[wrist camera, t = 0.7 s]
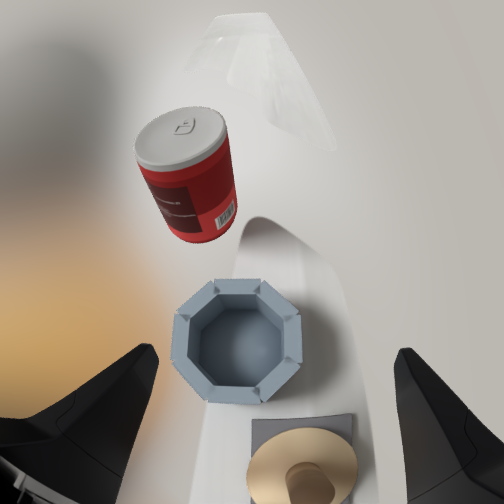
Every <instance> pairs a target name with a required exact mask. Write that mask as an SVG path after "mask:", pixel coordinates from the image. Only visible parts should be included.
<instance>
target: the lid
mask: <svg viewBox="0 0 504 504" xmlns="http://www.w3.org/2000/svg"><path fill="white" fill-rule="evenodd" d="M357 475H358V462H357V457H356V455H355V452H354V451H353V449H352V447H351V446H350V445H349V443H347V442H346V441H345V440H344V439H343V438H341V437H340V436H338V435H337V434H335V433H333V432H331V431H328V430H325V429H321V428H316V427H299V428H293V429H289V430H286V431H283V432H281V433H278V434H276V435H274V436H273V437H271V438H269V439H268V440H267V441H266V442H264V443H263V444H262V445H261V446H260V447H259V448H258V449H257V451H256V452H255V453H254V455H253V457H252V458H251V461H250V463H249V467H248V471H247V477H246V480H247V487H248V491H249V493H250V496H251V497H252V499H253V500H254V502H255V503H256V504H340V503H341V502H342V501H343V500H344V499H345V498H346V497H347V496H348V495H349V493H350V492H351V490H352V488H353V487H354V484H355V482H356V479H357Z"/></svg>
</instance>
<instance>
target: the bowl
mask: <svg viewBox="0 0 504 504" xmlns="http://www.w3.org/2000/svg"><path fill="white" fill-rule="evenodd" d="M177 311H178V313H179V314H174V324H173V334H172V345H171V357H170V360H172V361H174V362H173V363H172V365H173V366H174V367H175V368H176V369H177V371H178V372H179V373H180V374H181V375H182V376H183V378H184V379H185V380H186V381H187V382H188V383H189V385H190V386H191V387H192V388H193V389H194V390H195V391H196V392H197V394H199V396H200V397H201V398H202V399H203V400H208V402H209V403H226V404H260V403H261V400H262V401H263V402H264V403H265V402H266V401H267V400H268V399H269V398H270V397H271V396H272V395H273V394H274V393H275V392H276V391H277V390H278V389H279V388H280V387H281V386H282V385H283V384H284V383H286V382H287V381H288V380H289V379H290V378H291V377H292V376H293V375H294V374H295V372H296V371H297V370H298V369H299V368H300V367H301V366H299V365H301V364H302V363H303V359H302V330H301V315H298V312H299V311H298V310H297V309H296V308H295V307H294V306H293V305H292V304H291V303H289V302H288V301H287V300H286V299H285V298H284V297H283V296H282V295H280V294H279V293H278V292H277V291H276V290H275V289H274V288H273V287H272V286H270V285H269V284H268V283H267V282H266V281H265V280H264V281H263V282H262V283H261V279H215V280H214V283H213V282H212V281H209V282H208V283H207V284H206V285H205V286H204V287H203V288H201V289H200V290H199V291H198V292H197V293H196V294H195V295H193V296H192V297H191V298H190V299H189V300H188V301H186V303H184V304H183V305H182V306H181V307H180V308H178V309H177Z"/></svg>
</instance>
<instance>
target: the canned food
mask: <svg viewBox="0 0 504 504" xmlns="http://www.w3.org/2000/svg"><path fill="white" fill-rule="evenodd" d="M133 151H134V154H135V158H136V160H137V163H138V165H139V167H140V170H141V172H142V174H143V177H144V179H145V181H146V183H147V185H148V187H149V189H150V191H151V193H152V195H153V197H154V199H155V201H156V203H157V205H158V207H159V209H160V211H161V213H162V215H163V217H164V219H165V221H166V223H167V225H168V227H169V228H170V230H171V231H172V232H173V233H174V234H175V235H176V236H177V237H179V238H180V239H182V240H184V241H186V242H190V243H205V242H209V241H212V240H215V239H217V238H218V237H220V236H221V235H223V234H224V233H225V232H226V231H227V230H228V229H229V228H230V227H231V225H232V223H233V221H234V219H235V216H236V212H237V198H236V190H235V183H234V175H233V168H232V161H231V154H230V146H229V139H228V133H227V126H226V124H225V120H224V118H223V116H222V115H221V114H220V113H219V112H217V111H215V110H213V109H210V108H206V107H186V108H180V109H176V110H173V111H170V112H168V113H165V114H163V115H161V116H159V117H157V118H156V119H154V120H153V121H151V122H150V123H148V124H147V125H146V126H145V127H144V128H143V129H142V130H141V131H140V133H139V134H138V135H137V137H136V139H135V142H134V145H133Z"/></svg>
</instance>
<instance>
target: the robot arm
mask: <svg viewBox="0 0 504 504" xmlns="http://www.w3.org/2000/svg"><path fill="white" fill-rule="evenodd" d="M158 365H159V358H158V356H157V354H156V352H155V350H154V347H153V346H152V345H151V344H147V343H141V344H140V345H138V346H137V347H135V348H134V349H132V350H131V351H130V352H129V353H127V354H126V355H124V356H123V357H121V358H120V359H119V360H117V361H116V362H114V363H113V364H112V365H110V366H109V367H107V368H106V369H105V370H103V371H102V372H100V373H99V374H97V375H96V376H95V377H93V378H92V379H90V380H89V381H87V382H86V383H85V384H83V385H82V386H80V387H79V388H78V389H77V390H75V391H73V392H72V393H70V394H69V395H67V396H66V397H64V398H63V399H61V400H60V401H58V402H56V403H55V404H53V405H52V406H50V407H48V408H46V409H45V410H42V411H41V412H39V413H37V414H35V415H34V416H31V417H29V418H24V419H15V418H2V417H0V504H115V503H116V499H117V496H118V492H119V489H120V486H121V483H122V478H123V476H124V473H125V469H126V466H127V463H128V460H129V457H130V454H131V451H132V448H133V445H134V442H135V439H136V436H137V433H138V430H139V427H140V425H141V422H142V419H143V416H144V413H145V410H146V407H147V405H148V402H149V399H150V396H151V393H152V388H153V384H154V380H155V376H156V373H157V369H158ZM394 377H395V388H396V403H397V412H398V417H399V424H400V430H401V437H402V445H403V453H404V462H405V472H406V484H407V501H408V502H407V504H504V443H503V442H502V441H501V440H500V439H499V438H498V437H496V436H495V435H494V434H493V433H492V432H491V431H490V430H489V429H488V428H487V427H486V426H485V425H483V424H482V422H481V421H480V420H479V419H478V418H477V417H476V416H475V415H474V414H473V413H472V412H471V411H470V409H468V407H467V406H466V405H465V404H464V403H463V402H462V401H461V400H460V398H459V397H458V396H457V395H456V394H455V393H454V392H453V391H452V390H451V389H450V387H449V386H448V385H447V384H446V383H445V382H444V381H443V380H442V379H441V378H440V377H439V376H438V375H437V374H436V373H435V372H434V371H433V369H432V368H431V367H430V366H429V365H428V364H427V363H426V362H425V361H424V360H423V359H422V358H421V357H420V356H419V355H418V354H417V353H416V352H415V351H414V350H413V349H412V348H402V349H400V350H399V352H398V355H397V358H396V360H395V363H394Z"/></svg>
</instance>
